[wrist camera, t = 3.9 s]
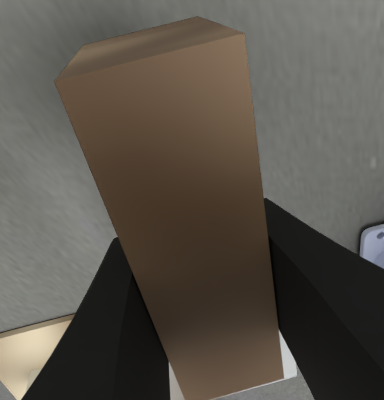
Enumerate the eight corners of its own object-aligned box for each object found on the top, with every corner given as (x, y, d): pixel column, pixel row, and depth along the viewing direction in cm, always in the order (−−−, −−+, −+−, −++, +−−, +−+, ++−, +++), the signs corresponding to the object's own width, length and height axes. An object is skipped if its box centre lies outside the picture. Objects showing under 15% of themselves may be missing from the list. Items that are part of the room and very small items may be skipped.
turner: (254, 2, 7) (338, 9, 5) (288, 357, 14) (330, 453, 11) (25, 59, 7) (-44, 105, 4) (170, 390, 14) (182, 496, 11)
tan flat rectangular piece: (140, 296, 21) (140, 301, 20) (182, 402, 27) (183, 407, 27) (-27, 340, 20) (-30, 346, 20) (55, 437, 27) (54, 442, 26)
